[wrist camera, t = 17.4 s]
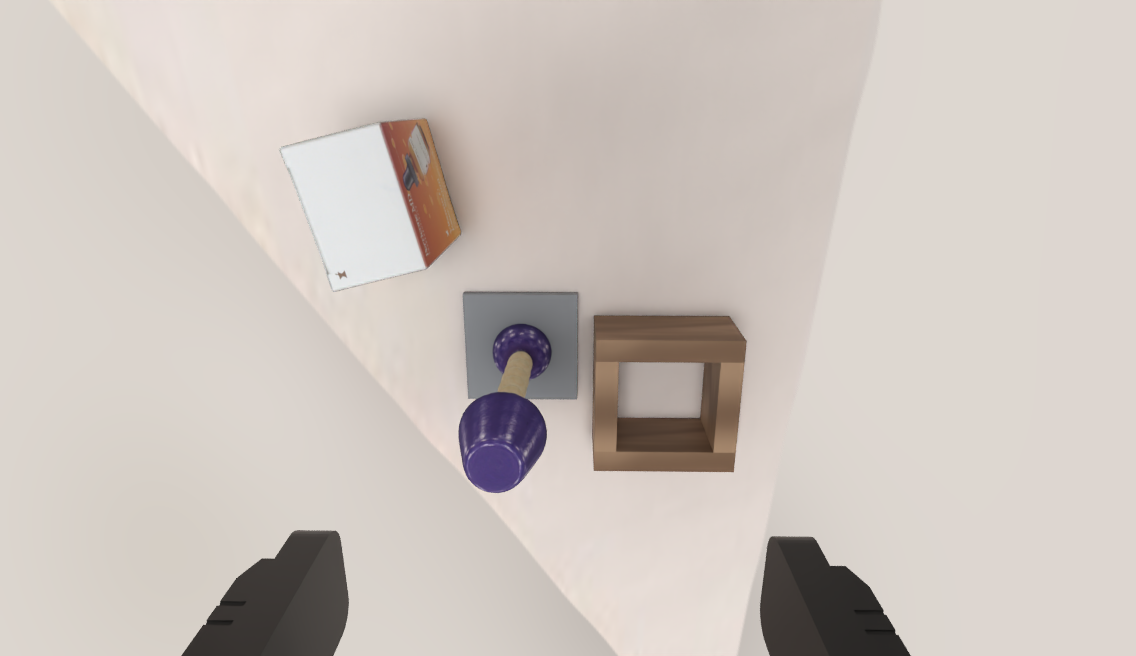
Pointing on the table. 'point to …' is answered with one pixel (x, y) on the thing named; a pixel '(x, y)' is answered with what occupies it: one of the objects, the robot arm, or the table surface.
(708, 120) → the table surface
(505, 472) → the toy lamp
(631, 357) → the wooden cube shelf
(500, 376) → the slate pad
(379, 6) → the table surface
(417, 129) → the small box
